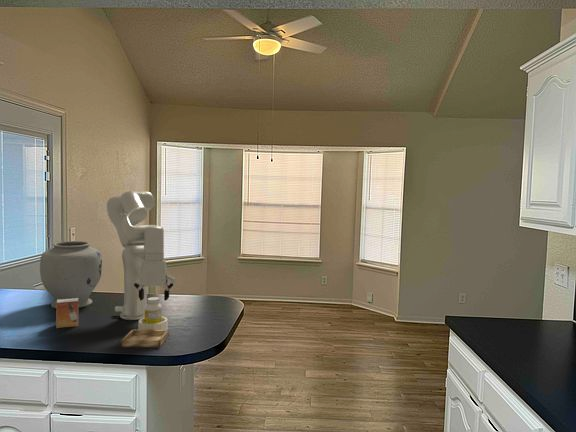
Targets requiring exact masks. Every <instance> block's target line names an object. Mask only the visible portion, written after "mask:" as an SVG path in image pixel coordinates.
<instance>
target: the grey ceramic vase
mask: <svg viewBox="0 0 576 432" xmlns="http://www.w3.org/2000/svg"><path fill="white" fill-rule="evenodd" d="M90 245H91V243H90V242H88V241H81V240H80V241H79V240H77V241H76V240H71V241H70V240H68V241H67V240H66V241H57V242H55V243H53V244H52V246H53V247H52V248H49V249H47V250H45V251H43V252H42V254H41V255H40V258H39V259H40V260H39V261H40V262H39V274H40V280H41V283H42V285H43V288H44V289H45V290H46V291H47V292H48V294H49V295H50V296H51V297H52V298H54V301H53V302H52V303H51V308H53V309H57V300H62V299H74V298H78V309H80V308H84V307H88V306H90V305H92V304H93V299H92V298H89V297H90V295H91V294H92V292H94V290H95V288H96V287H97V286H98V284H99V282H100V280H101V278H102V277H101V276H102V271H103V257H102V254H101V253H102V252H101V251H100V250H99V249H97V248H94V247H91V246H90Z"/></svg>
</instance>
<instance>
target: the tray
mask: <svg viewBox="0 0 576 432" xmlns="http://www.w3.org/2000/svg"><path fill="white" fill-rule="evenodd" d="M169 336H170V330H169V329H167V330H138V328H137V329H135V328H134V329H131V330H130V331H129V332H128V333H127V334H126V335H125V336H124V337H123V338H122V339H121V340H120V348H159V349H160V348H161V347H162V346H163V345H164V343H165V342H166V340H167V339H168V338H169Z"/></svg>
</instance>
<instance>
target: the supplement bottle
mask: <svg viewBox="0 0 576 432" xmlns="http://www.w3.org/2000/svg"><path fill="white" fill-rule="evenodd" d="M162 317H163V305H162V304H161V303H160V297H156V296H155V297H154V296H153V297H147V305H146V306H145V323H147V324H154V323H160V322H162Z"/></svg>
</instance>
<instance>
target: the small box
mask: <svg viewBox="0 0 576 432" xmlns="http://www.w3.org/2000/svg"><path fill="white" fill-rule="evenodd" d="M55 313H56V318H55V319H56V320H55V321H56V326H55V327H56V329H59V328H71V327H79V308H78V298H74V299H62V300H57V308H56V312H55Z"/></svg>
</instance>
